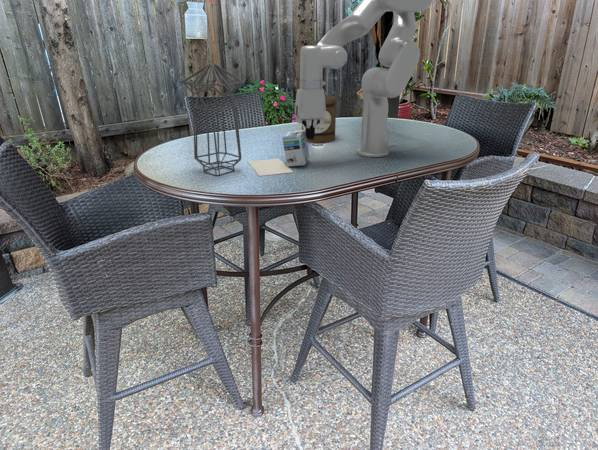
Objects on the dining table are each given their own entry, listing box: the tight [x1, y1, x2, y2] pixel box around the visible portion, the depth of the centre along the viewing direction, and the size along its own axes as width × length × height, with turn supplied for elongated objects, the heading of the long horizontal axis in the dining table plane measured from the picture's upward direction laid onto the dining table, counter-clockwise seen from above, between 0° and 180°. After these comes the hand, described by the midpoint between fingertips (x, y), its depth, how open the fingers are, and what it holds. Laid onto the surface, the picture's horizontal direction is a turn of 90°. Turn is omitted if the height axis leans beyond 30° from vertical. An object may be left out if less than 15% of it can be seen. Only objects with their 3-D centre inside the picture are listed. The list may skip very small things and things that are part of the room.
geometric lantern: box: [181, 63, 246, 177], centre depth 141 cm, size 16×16×35 cm
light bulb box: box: [281, 129, 311, 167], centre depth 153 cm, size 11×7×11 cm, turn 168°
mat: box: [247, 158, 294, 177], centre depth 152 cm, size 12×18×1 cm, turn 19°
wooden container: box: [301, 94, 337, 144], centre depth 186 cm, size 15×15×22 cm
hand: (310, 138), depth 153 cm, fingers closed
